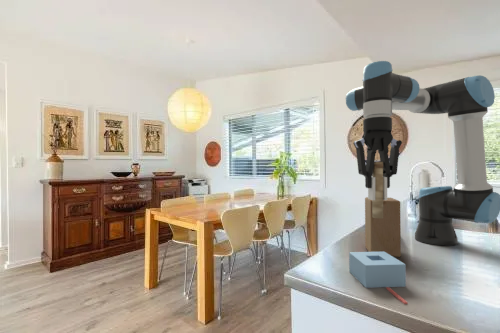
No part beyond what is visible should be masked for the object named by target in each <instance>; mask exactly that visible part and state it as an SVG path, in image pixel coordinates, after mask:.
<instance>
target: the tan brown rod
mask: <svg viewBox="0 0 500 333" xmlns="http://www.w3.org/2000/svg"><path fill="white" fill-rule="evenodd" d="M372 177H375V200H372V217H373V218H383V162H380V161H374V168H373V175H372Z"/></svg>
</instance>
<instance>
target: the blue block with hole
mask: <svg viewBox="0 0 500 333" xmlns="http://www.w3.org/2000/svg"><path fill="white" fill-rule="evenodd" d="M348 257H349V259H348V260H349V261H348V264H349V267H348V268H349V271H348V272H349V273H350V274H351V275H353V277H354V278H355V279H356V280H357V281H358V282H360V284H361V285H362V286H363V287H365V289H368V288H386V287H390V288H396V287H397V288H400V287H403V288H405V287H407V282H406V280H407V279H406V277H407V274H406V270H407V269H406V267H407V266H406V263H404V262H402V261H401V260H399V259H397V257H393V256H391V255H389V254H388V253H386V252H384V251H382V252H369V251H354V252H353V251H352V252H351V251H350V252H348Z"/></svg>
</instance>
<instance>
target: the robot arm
mask: <svg viewBox="0 0 500 333" xmlns="http://www.w3.org/2000/svg"><path fill="white" fill-rule="evenodd" d="M392 65H393V64H392V63H391V62H390V61H386V60H379V61H378V60H377V61H372V62H371V63H368V64H367V65H365V66H364V68H363V74H362V76H363V78H362V86H360V87H356V88H353V89H352V90H350V91H348V92H347V93H346V95H345V104H346V108H348V109H349V110H350V111H351V112H356V111H362V112H363V115H362V116H363V118H364V119H363V120H362V121H363V123H362V125H363V126H362V127H363V135H362V136H361V138H360V139H358V140H354V141H353V146H354V148H355V151H356V161H357V170H358V174H359V175H362V176H363V177H365V179H364V181H365V188H366V189H367V190H368V191H367V197H368V199H370V200H375V177H372V175H373V168H374V162H376V161H375V160H376V154H377V152H378V154H379V160H380V161H379V162H383V200H387V198H388V189H389V188H390V187H391V181H390V180H391V177H393V176H394V175H397V174H398V164H399V153H400V148H401V146H402V143H403V142H402V140H398V139H395V138H394V136H393V134H392V131H393V118H392V117H391V116H393V111H397V110H398V111H409V112H411V113H413V114H423V115H424V114H425V115H440V114H442V115H443V114H447V118H448V119H450V120H451V121H452V122H453V135H454V146H455V147H454V148H455V159H456V160H455V161H456V173H457V183H456V184H455V185H454V186H453V187H452V186H451V185H444V186H431V187H427V186H426V187H422V188H420V189H419V194H418V207H419V208H418V212H419V213H418V215H419V216H418V217H419V221H418V224H417V227H416V230H415V232H414V240H416V241H418V242H419V243H420V242H421V243H425V244H427V245H436V246H456V245H458V242H459V238H458V235H457V233H456V230H455V228H454V225H453V220H459V221H466V222H472V223H475V224H491V223H493V222H495V221H496V219H498V216H499V215H500V193H498V192H495V191H494V186H492V185H491V184H490V183H489V182H488V180H487V179H488V178H487V164H486V151H485V149H486V148H485V134H484V121H483V118H484V116H486V114H487V113H489V112H488V108H490V107H492V106H493V105H494V103H495V97H496V95H495V90H494V87H493V85H492V83H491V81H490V80H489V79H488V77H486V76H484V75H474V76H467V77H464V78H459V79H456V80H452V81H448V82H444V83H440V84H435V85H432V86H429V87H425V88H420V83H419V82H418V80H416V79H415V78H412V77H411V76H408V75H407V76H406V75H402V74H396V73H393V66H392ZM364 146H366V147H367V148H366V156H365V148H364ZM389 146H390V152H389Z"/></svg>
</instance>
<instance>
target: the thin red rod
mask: <svg viewBox="0 0 500 333" xmlns="http://www.w3.org/2000/svg"><path fill="white" fill-rule="evenodd" d="M385 289H386V290H387V291H388V292H389V293H390V294H392V296H394V297H395V298H397V300H398V301H400V302H401V303H402V304H403V305H408V301H407V300H406V299H404V298H403V297H402V296H401V295H399V294H398V293H397V292H395V291H394V290H393V289H392V287H385Z"/></svg>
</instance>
